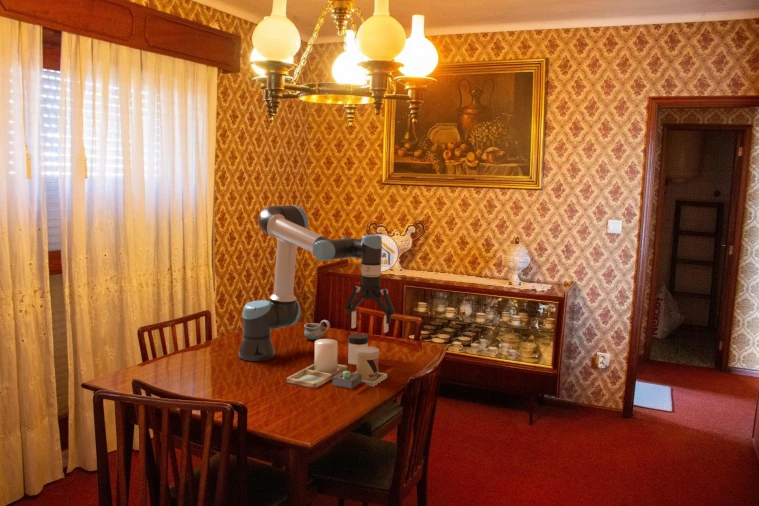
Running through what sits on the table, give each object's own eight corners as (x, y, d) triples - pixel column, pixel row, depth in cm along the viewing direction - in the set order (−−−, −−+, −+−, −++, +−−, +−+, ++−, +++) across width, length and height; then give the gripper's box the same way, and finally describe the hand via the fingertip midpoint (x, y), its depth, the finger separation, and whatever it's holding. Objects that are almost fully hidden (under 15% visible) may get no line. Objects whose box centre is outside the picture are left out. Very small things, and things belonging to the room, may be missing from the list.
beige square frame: (345, 381, 232) (345, 377, 232) (359, 372, 243) (360, 368, 243) (374, 386, 227) (374, 382, 227) (387, 377, 238) (387, 373, 238)
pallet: (285, 384, 226) (285, 378, 226) (319, 366, 249) (319, 360, 248) (315, 390, 221) (315, 384, 220) (347, 372, 243) (347, 366, 243)
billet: (309, 372, 238) (310, 342, 236) (321, 366, 246) (322, 337, 244) (329, 376, 234) (330, 346, 233) (341, 370, 242) (341, 340, 241)
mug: (306, 336, 296) (307, 316, 294) (332, 338, 294) (332, 317, 293) (301, 341, 286) (302, 320, 285) (327, 343, 284) (328, 322, 283)
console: (332, 387, 225) (332, 377, 224) (342, 381, 232) (342, 371, 231) (351, 391, 221) (351, 380, 221) (360, 385, 229) (361, 374, 228)
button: (341, 382, 226) (341, 372, 225) (345, 380, 228) (345, 370, 228) (348, 384, 224) (348, 373, 224) (352, 381, 227) (352, 371, 227)
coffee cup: (370, 385, 229) (371, 354, 227) (350, 380, 234) (350, 349, 232) (383, 378, 237) (384, 348, 235) (363, 373, 242) (364, 344, 240)
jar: (353, 368, 248) (354, 339, 247) (343, 362, 255) (344, 335, 254) (371, 365, 253) (372, 337, 252) (361, 360, 260) (362, 332, 259)
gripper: (337, 273, 233) (336, 327, 235) (398, 279, 223) (396, 335, 226) (345, 271, 240) (344, 323, 242) (405, 276, 230) (403, 331, 233)
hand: (369, 329), depth 234 cm, fingers open, 13 cm apart
